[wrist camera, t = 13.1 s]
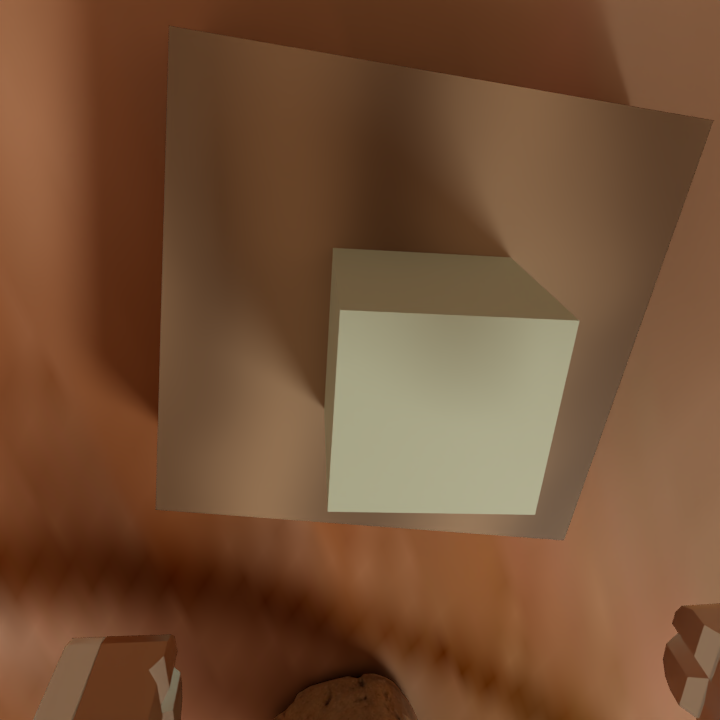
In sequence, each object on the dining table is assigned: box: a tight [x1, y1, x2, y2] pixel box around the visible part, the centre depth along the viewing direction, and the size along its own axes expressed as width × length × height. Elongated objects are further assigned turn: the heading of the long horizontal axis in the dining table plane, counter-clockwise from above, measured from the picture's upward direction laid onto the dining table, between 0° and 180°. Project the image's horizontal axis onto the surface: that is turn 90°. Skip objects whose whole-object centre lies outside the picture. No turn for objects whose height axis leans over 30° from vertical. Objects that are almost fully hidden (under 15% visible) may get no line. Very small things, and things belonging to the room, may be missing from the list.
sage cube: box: [324, 248, 579, 515], centre depth 16 cm, size 5×5×5 cm
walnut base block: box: [156, 26, 714, 540], centre depth 21 cm, size 14×14×5 cm
